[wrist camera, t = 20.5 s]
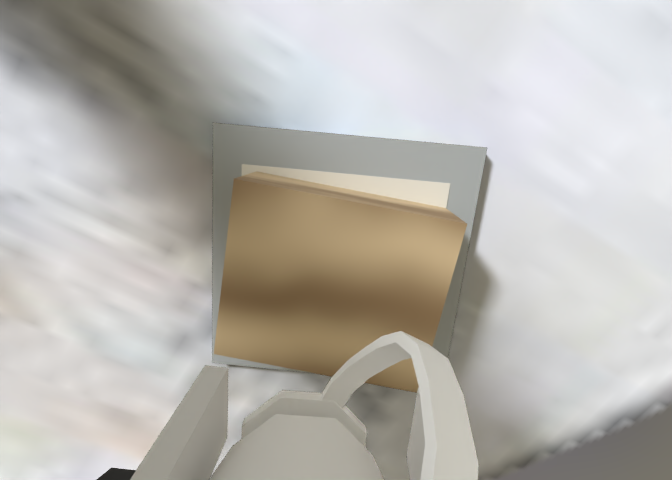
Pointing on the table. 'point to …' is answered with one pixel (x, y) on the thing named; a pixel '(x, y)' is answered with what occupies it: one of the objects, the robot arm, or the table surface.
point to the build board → (350, 173)
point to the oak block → (331, 274)
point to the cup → (354, 424)
